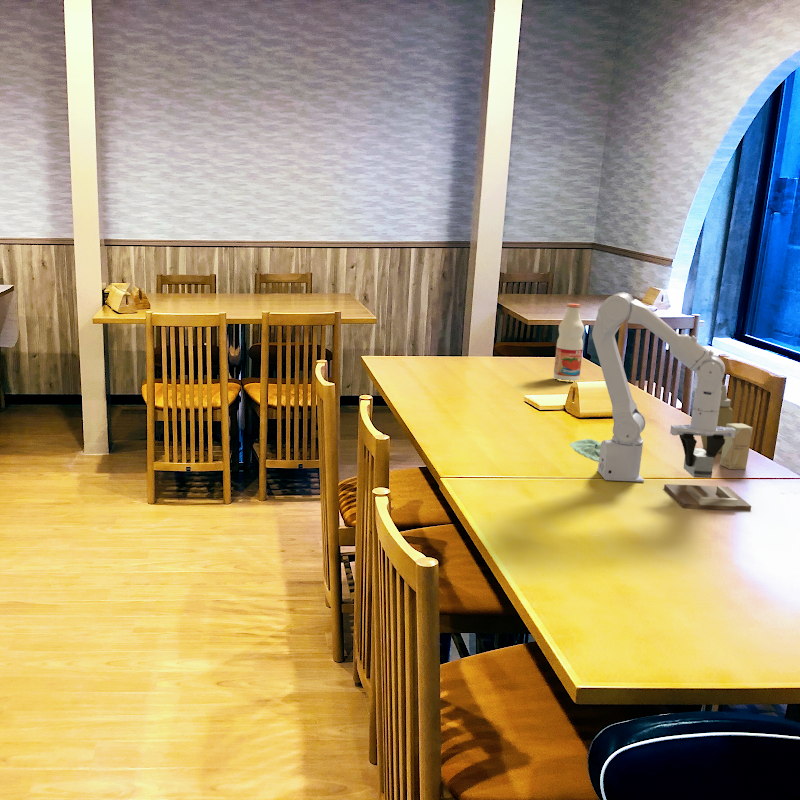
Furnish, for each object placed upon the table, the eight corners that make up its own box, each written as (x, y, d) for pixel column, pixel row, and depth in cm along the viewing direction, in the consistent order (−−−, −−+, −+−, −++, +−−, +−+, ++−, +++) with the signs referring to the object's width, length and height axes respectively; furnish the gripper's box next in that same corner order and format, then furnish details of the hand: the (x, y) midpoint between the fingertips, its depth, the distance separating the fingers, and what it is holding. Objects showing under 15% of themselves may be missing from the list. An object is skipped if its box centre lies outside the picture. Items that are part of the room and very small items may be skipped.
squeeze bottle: (732, 455, 235) (742, 390, 230) (700, 452, 236) (710, 387, 232) (727, 447, 242) (736, 384, 238) (697, 444, 244) (705, 381, 240)
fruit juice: (568, 376, 327) (575, 302, 321) (584, 382, 319) (592, 305, 312) (548, 378, 323) (555, 302, 316) (564, 383, 315) (571, 305, 308)
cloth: (578, 439, 245) (579, 431, 244) (657, 454, 234) (658, 445, 234) (551, 455, 228) (552, 446, 227) (634, 473, 217) (636, 463, 217)
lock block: (693, 477, 201) (696, 456, 200) (683, 468, 208) (685, 447, 207) (711, 478, 201) (714, 457, 200) (700, 468, 208) (702, 448, 207)
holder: (684, 508, 191) (685, 497, 191) (664, 488, 205) (665, 477, 204) (751, 511, 192) (753, 500, 192) (727, 490, 205) (728, 480, 205)
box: (729, 469, 222) (735, 427, 219) (719, 464, 226) (725, 423, 223) (747, 469, 223) (753, 427, 221) (736, 463, 227) (742, 422, 225)
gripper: (680, 412, 197) (673, 469, 200) (744, 414, 197) (735, 472, 200) (670, 404, 204) (663, 460, 207) (731, 407, 204) (723, 462, 207)
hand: (698, 465), depth 204 cm, fingers closed on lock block, 4 cm apart
